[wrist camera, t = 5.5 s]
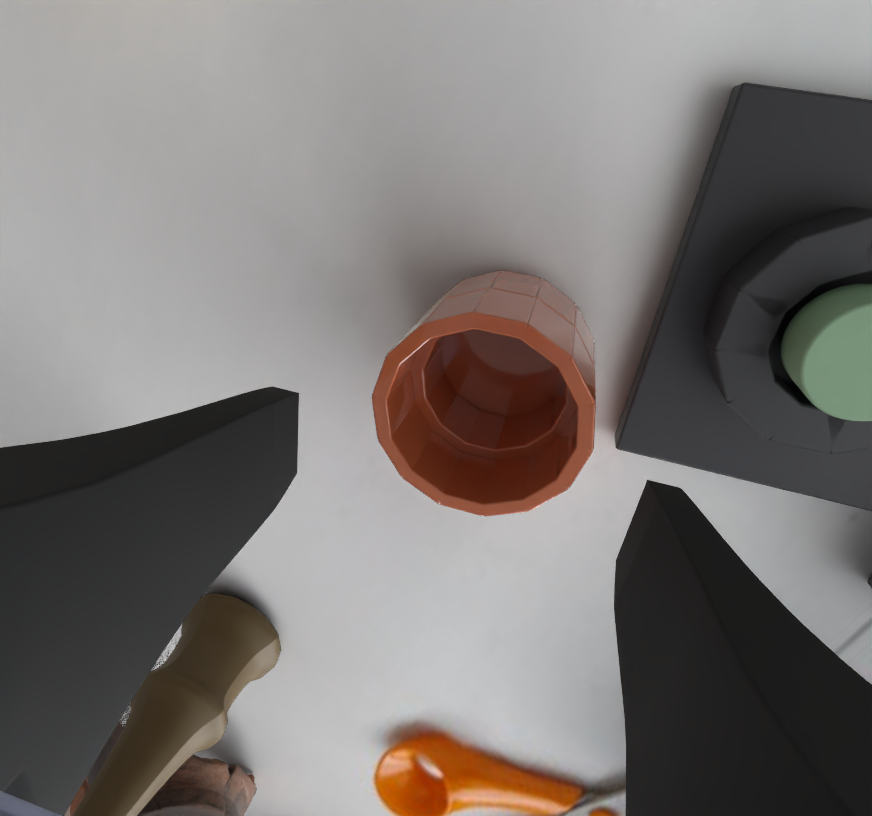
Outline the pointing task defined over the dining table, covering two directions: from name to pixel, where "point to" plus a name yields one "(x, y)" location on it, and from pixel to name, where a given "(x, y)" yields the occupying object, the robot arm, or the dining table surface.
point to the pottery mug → (188, 787)
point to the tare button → (833, 351)
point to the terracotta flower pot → (491, 396)
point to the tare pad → (761, 299)
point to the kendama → (183, 703)
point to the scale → (870, 581)
